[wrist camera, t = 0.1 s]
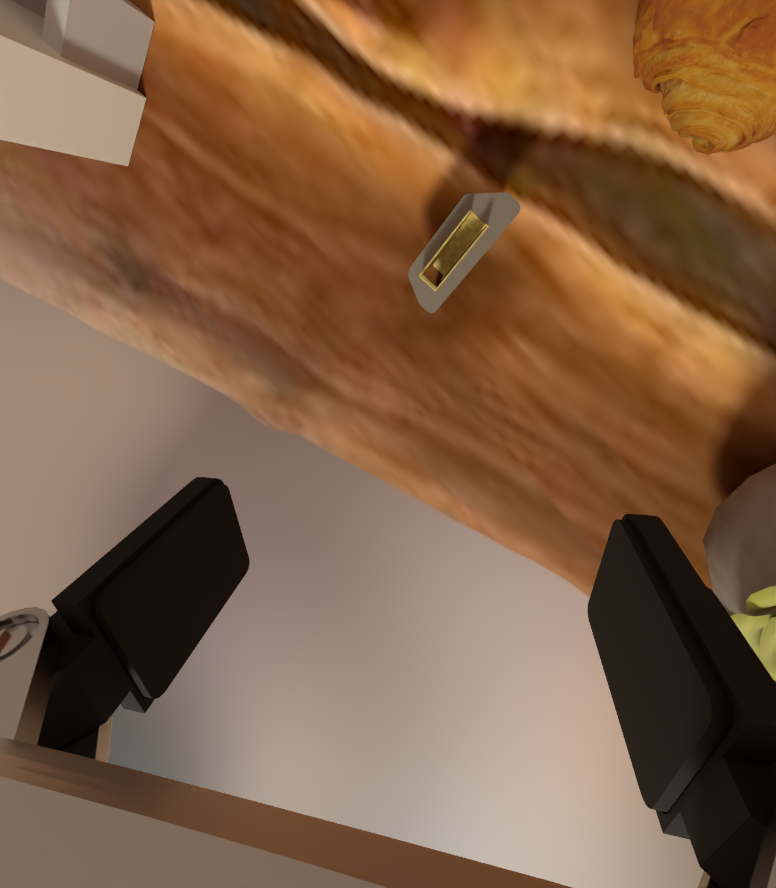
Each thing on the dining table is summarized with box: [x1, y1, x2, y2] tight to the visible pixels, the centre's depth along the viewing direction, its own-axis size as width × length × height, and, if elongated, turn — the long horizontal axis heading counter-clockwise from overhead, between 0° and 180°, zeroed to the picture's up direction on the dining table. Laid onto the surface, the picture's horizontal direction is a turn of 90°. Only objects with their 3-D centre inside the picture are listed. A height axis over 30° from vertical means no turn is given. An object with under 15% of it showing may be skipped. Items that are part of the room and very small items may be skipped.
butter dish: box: [408, 193, 520, 313], centre depth 31 cm, size 12×18×7 cm, turn 141°
